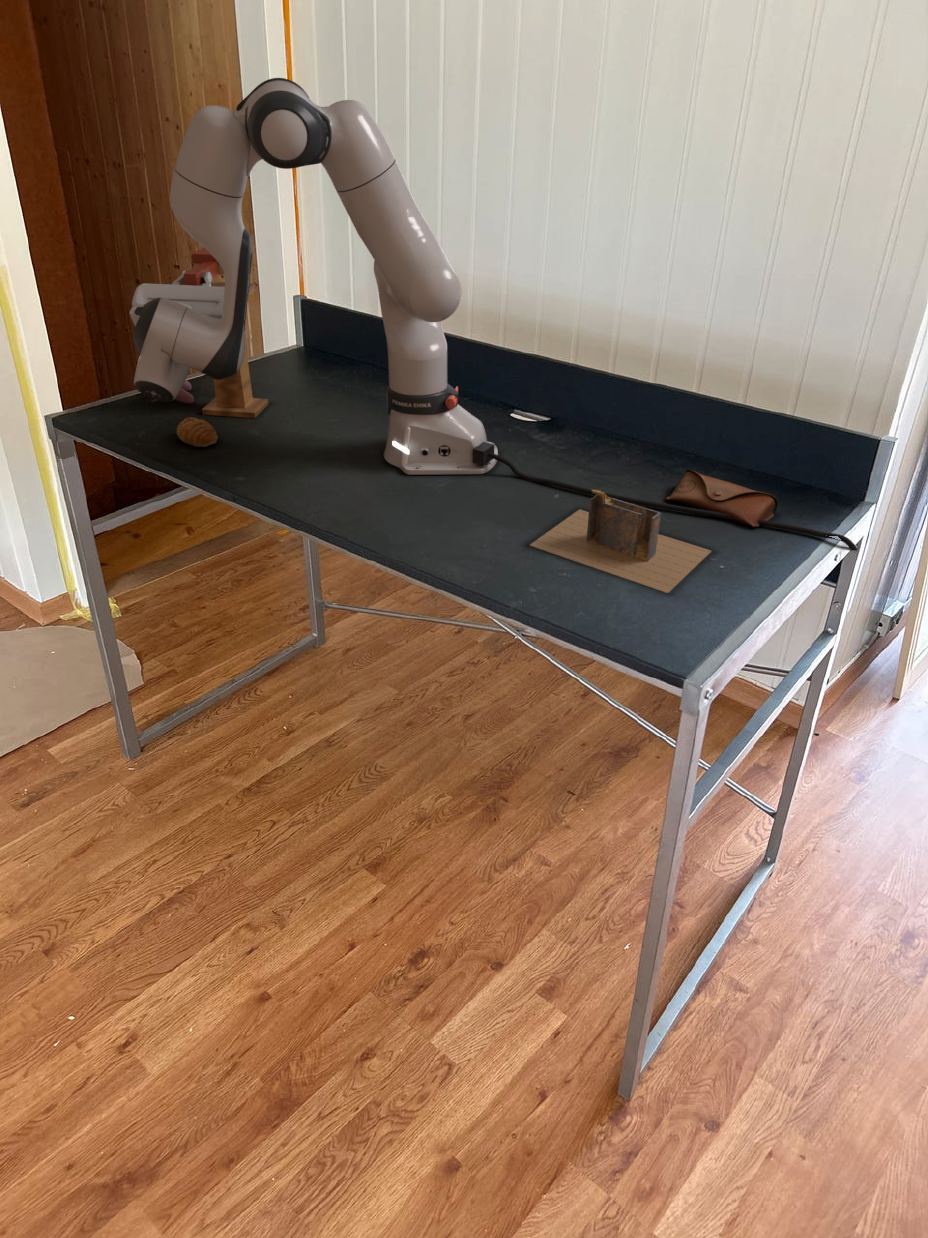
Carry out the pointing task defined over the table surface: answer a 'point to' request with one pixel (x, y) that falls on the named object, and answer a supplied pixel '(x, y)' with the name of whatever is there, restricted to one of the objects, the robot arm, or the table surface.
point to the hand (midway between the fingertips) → (197, 273)
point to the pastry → (196, 432)
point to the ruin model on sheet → (623, 543)
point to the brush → (202, 267)
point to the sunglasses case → (724, 498)
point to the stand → (235, 389)
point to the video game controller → (185, 393)
